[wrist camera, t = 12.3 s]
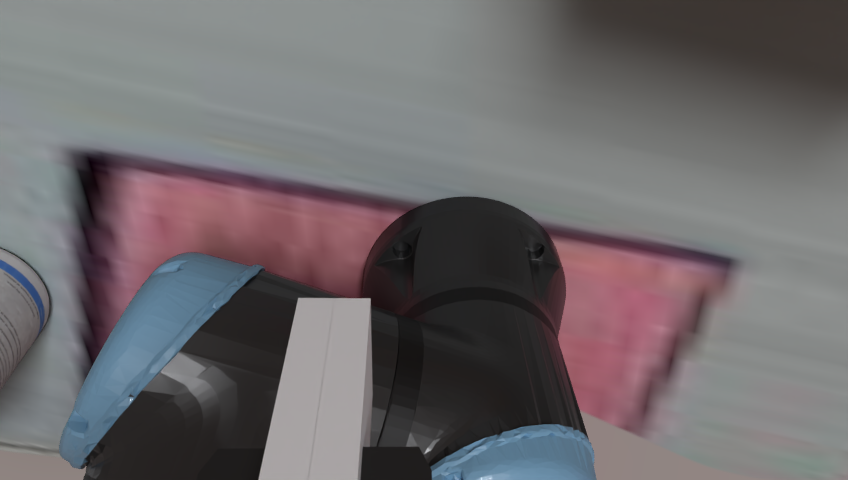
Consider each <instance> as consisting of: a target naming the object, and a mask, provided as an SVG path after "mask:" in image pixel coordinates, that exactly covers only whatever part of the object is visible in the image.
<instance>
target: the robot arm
mask: <svg viewBox="0 0 848 480" xmlns="http://www.w3.org/2000/svg"><path fill="white" fill-rule="evenodd" d="M565 298H566V283H565V275H564V271H563V267H562V264H561V261H560V258H559V255H558V253H557V250H556V247H555V245H554V243H553V241H552V240H551V238H550V236H549V235H548V234H547V232H546V231H545V230H544V229H543V228H542V226H541V225H540V224H538V223H537V222H536V221H535V220H534V219H533V218H532V217H530V216H529V215H527V214H526V213H524V212H523V211H521V210H519V209H517V208H515V207H513V206H511V205H508V204H506V203H503V202H500V201H496V200H492V199H486V198H479V197H454V198H447V199H442V200H437V201H434V202H430V203H427V204H425V205H422V206H420V207H417V208H415V209H413V210H411V211H409V212H408V213H406V214H404V215H403V216H401V217H400V218H399V219H397V220H396V221H395V222H393V223H392V224H391V225H390V226H389V227H388V228H387V229H386V230H385V231H384V232H383V233H382V235H381V236H380V237H379V238H378V240H377V241H376V243H375V244H374V246H373V248H372V250H371V252H370V254H369V256H368V259H367V262H366V266H365V271H364V281H363V298H346V297H343V296H340V295H337V294H334V293H331V292H328V291H325V290H322V289H319V288H316V287H313V286H310V285H307V284H303V283H300V282H297V281H294V280H291V279H288V278H285V277H282V276H279V275H276V274H273V273H270V272H267V271H265V267H263V266H261V265H258V264H256V265H253V266H248V265H244V264H240V263H236V262H232V261H229V260H225V259H221V258H217V257H214V256H210V255H206V254H203V253H196V252H190V253H183V254H179V255H177V256H174V257H172V258H170V259H169V260H167V261H165V262H164V263H163V264H161V265H160V266H159V267H158V268H157V269H156V270H155V271H154V272H153V273H152V274H151V275H150V277H149V278H148V279H147V280H146V281H145V283H144V284H143V285H142V287H141V288H140V289H139V291H138V292H137V293H136V295H135V296H134V298H133V299H132V301H131V302H130V303H129V305H128V306H127V308H126V310H125V311H124V313H123V314H122V316H121V318H120V319H119V321H118V322H117V324H116V326H115V327H114V329H113V330H112V332H111V334H110V336H109V337H108V339H107V341H106V342H105V344H104V346H103V348H102V350H101V351H100V353H99V355H98V357H97V359H96V360H95V362H94V364H93V366H92V368H91V370H90V372H89V374H88V376H87V378H86V380H85V382H84V384H83V386H82V388H81V390H80V392H79V394H78V397H77V399H76V401H75V405H74V409H73V411H72V413H71V416H70V418H69V420H68V422H67V424H66V426H65V428H64V430H63V433H62V436H61V440H60V445H59V452H60V455H61V456H62V458H64V459H65V460H66V461H68V462H69V463H70V464H71V466H72V467H74V468H78V469H83V468H84V467H85V466H87V467H86V474H85V476H84V479H83V480H596V475H595V470H594V451H593V448H592V446H591V443H590V442H589V439H588V436H587V433H586V429H585V426H584V423H583V420H582V416H581V413H580V410H579V407H578V403H577V400H576V397H575V394H574V390H573V387H572V384H571V381H570V378H569V374H568V371H567V368H566V365H565V361H564V358H563V355H562V352H561V349H560V346H559V342H558V334H559V329H560V324H561V320H562V315H563V310H564V305H565Z"/></svg>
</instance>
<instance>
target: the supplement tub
mask: <svg viewBox="0 0 848 480" xmlns="http://www.w3.org/2000/svg"><path fill="white" fill-rule="evenodd" d="M49 307H50V305H49V297H48V293H47V290H46V288H45V286H44V284H43V282H42V281H41V279H40V278H39V276H38V275H37V274H36V273H35V272H34V270H33V269H32V268H31V267H30V266H29V265H27V264H26V263H25V262H24V261H22V260H21V259H19V258H18V257H16V256H15V255H13V254H11V253H9V252H7V251H5V250H3V249H1V248H0V390H1V388H2V387H3V385H4V384H5V383H6V381H7V380H8V378H9V377H10V375H11V374H12V372H13V371H14V370H15V368H16V367H17V365H18V364H19V362H20V361H21V359H22V358H23V356H24V355H25V354H26V352H27V351H28V349H29V348H30V346H31V345H32V344H33V342H34V341H35V339H36V338H37V336H38V335H39V333H40V332H41V330H42V329H43V327H44V326H45V324H46V322H47V319H48V315H49Z"/></svg>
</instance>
